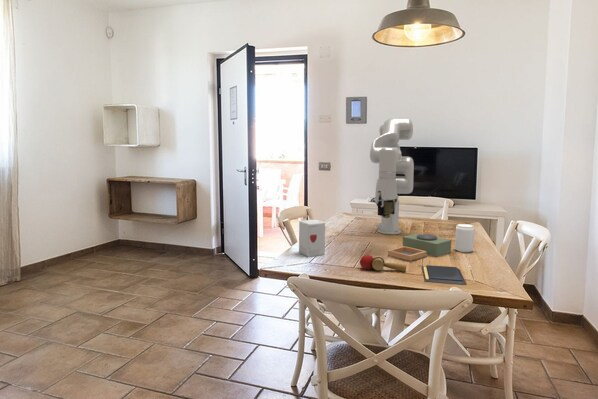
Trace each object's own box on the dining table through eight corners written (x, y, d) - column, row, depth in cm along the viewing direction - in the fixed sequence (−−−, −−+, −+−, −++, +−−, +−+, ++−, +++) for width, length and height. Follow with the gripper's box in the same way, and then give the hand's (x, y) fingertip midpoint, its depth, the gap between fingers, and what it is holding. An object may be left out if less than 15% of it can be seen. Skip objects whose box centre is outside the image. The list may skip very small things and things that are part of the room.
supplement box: (307, 257, 184) (307, 224, 182) (298, 252, 192) (298, 220, 190) (325, 254, 188) (325, 222, 186) (315, 250, 196) (315, 219, 194)
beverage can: (472, 249, 198) (474, 224, 196) (473, 253, 190) (475, 227, 188) (454, 247, 200) (455, 223, 199) (454, 252, 193) (456, 226, 191)
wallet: (467, 282, 148) (422, 278, 152) (467, 287, 148) (422, 283, 152) (460, 265, 167) (421, 263, 171) (460, 270, 168) (421, 267, 171)
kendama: (404, 271, 169) (360, 262, 172) (407, 257, 167) (362, 249, 170) (404, 281, 162) (358, 271, 165) (407, 266, 159) (360, 257, 163)
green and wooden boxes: (382, 254, 188) (382, 239, 187) (417, 245, 205) (417, 231, 204) (416, 263, 174) (417, 247, 173) (450, 252, 192) (451, 237, 191)
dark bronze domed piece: (394, 219, 186) (394, 201, 185) (377, 218, 188) (378, 201, 186) (394, 216, 193) (394, 199, 192) (378, 215, 195) (378, 198, 194)
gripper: (392, 174, 196) (391, 211, 198) (367, 176, 185) (367, 215, 188) (406, 175, 190) (404, 213, 193) (381, 177, 179) (379, 218, 182)
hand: (386, 214), depth 190 cm, fingers closed on dark bronze domed piece, 6 cm apart
